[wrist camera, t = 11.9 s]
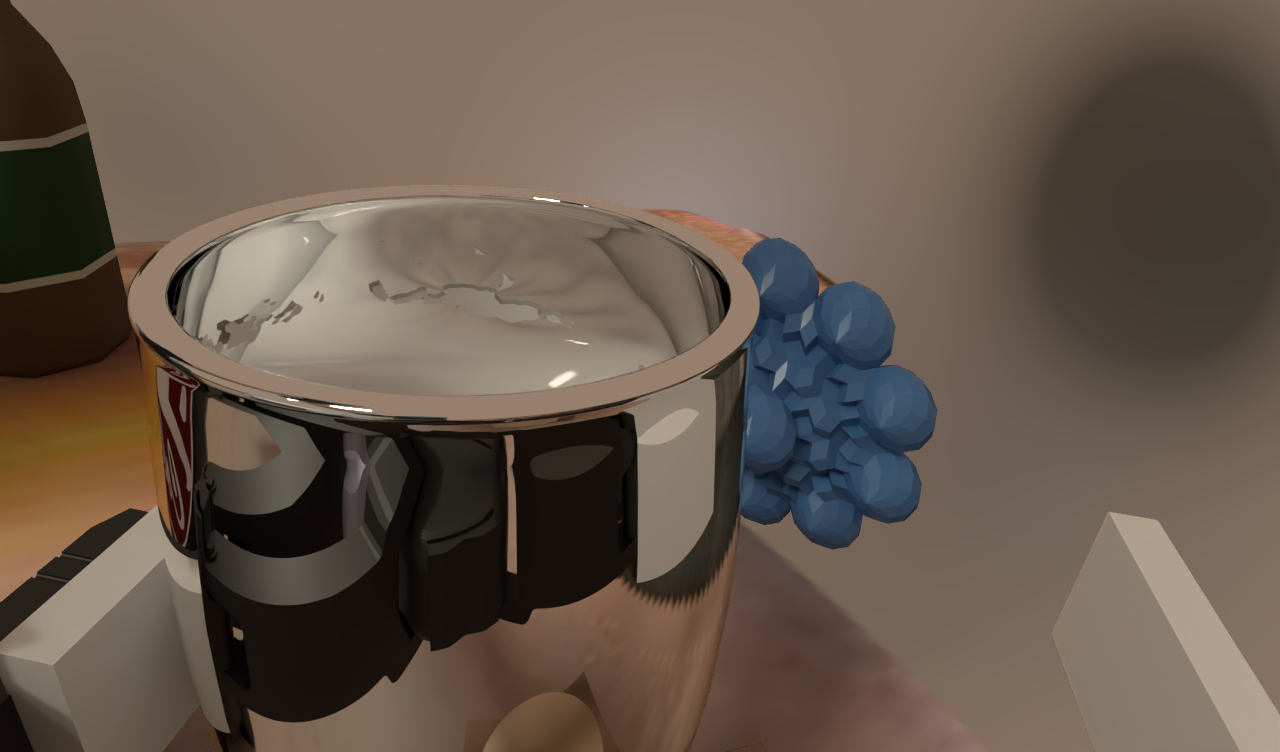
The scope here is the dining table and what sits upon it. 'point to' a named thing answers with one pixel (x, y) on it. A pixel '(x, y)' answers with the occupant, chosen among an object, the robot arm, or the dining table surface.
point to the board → (750, 748)
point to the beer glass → (447, 468)
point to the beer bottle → (50, 218)
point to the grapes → (827, 405)
